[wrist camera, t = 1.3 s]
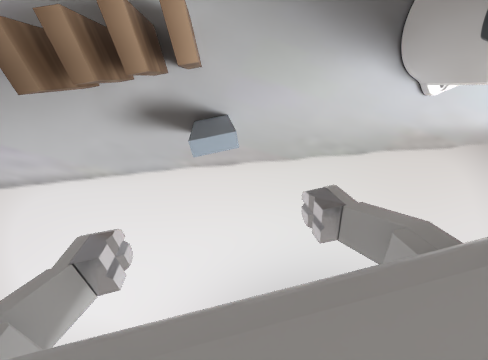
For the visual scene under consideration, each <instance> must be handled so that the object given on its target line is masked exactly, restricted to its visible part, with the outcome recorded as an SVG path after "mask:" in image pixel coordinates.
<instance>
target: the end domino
mask: <svg viewBox="0 0 488 360" xmlns="http://www.w3.org/2000/svg"><path fill="white" fill-rule="evenodd" d="M188 142H189V145H190V148H191V151H192V154H193V157H198V156H202V155H207V154H212V153H216V152H221V151H226V150H230V149H235V148H239V144H238V139H237V133H236V130H235V128H234V126H233V124H232V122H231V120H230V118H229V117H228V115H224V116H219V117H214V118H209V119H205V120H200V121H195V122H194V124H193V128H192V131H191V134H190V138H189V141H188Z"/></svg>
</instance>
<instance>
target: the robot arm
mask: <svg viewBox="0 0 488 360" xmlns="http://www.w3.org/2000/svg"><path fill="white" fill-rule="evenodd" d="M401 51H402V59H403V63H404V66H405V68H406V70H407V71H408V73H409V74H410V75H411V76H412V77H413V78H415V79H416V80H417V81H419V83H420V85H421V88H422V91H423V93H424V94H425V95H426V96H434V95H437V94H439V93H442V92H444V91H447V90H449V89H451V88H454V87H456V86H459V85H488V0H415V1H414V3H413V5H412V7H411V9H410V12H409V14H408V17H407V20H406V23H405V26H404V30H403V35H402V45H401ZM302 200H303V201H304V202H305V203H304V205H303V206H302V216H303V219H304V222H305V223H306V225H307V226H308V227H310V228H312V233H313V235H314V236H315V238H316V239H317V240H318V242H319V243H325V242H330V241H335V240H338V241H340V242H341V243H343V244H345V245H347V246H348V247H350V248H352V249H353V250H355V251H357V252H359V253H360V254H362V255H364V256H366V257H367V258H369V259H371V260H372V261H374V262H376V263H378V264H379V265H376V266H372V267H368V268H364V269H360V270H357V271H352V272H348V273H344V274H341V275H337V276H333V277H329V278H325V279H321V280H317V281H313V282H309V283H305V284H301V285H297V286H293V287H290V288H285V289H282V290H278V291H274V292H270V293H266V294H262V295H258V296H254V297H250V298H246V299H242V300H238V301H234V302H230V303H227V304H222V305H219V306H215V307H211V308H207V309H203V310H199V311H195V312H192V313H187V314H183V315H179V316H175V317H172V318H168V319H163V320H160V321H156V322H152V323H148V324H144V325H140V326H136V327H132V328H128V329H124V330H121V331H116V332H112V333H109V334H105V335H101V336H97V337H93V338H89V339H85V340H81V341H77V342H73V343H69V344H65V345H61V346H58V347H54V348H52V347H53V346H54V345H55V344H56V342H57V341H58V340H59V339H60V338H61V337H62V336H63V335H64V334H65V333H66V331H67V330H68V329H69V328H70V327H71V326H72V325H73V324H74V322H75V321H76V320H77V319H78V318H79V317H80V316H81V315H82V314H83V313H84V312H85V310H86V309H87V308H88V307H89V306H90V305H91V304H92V303H93V302H94V300H95V299H96V298H97V296H100V295H103V294H107V293H111V292H115V291H119V290H120V289H121V287H122V285H123V282H124V279H125V277H126V274H125V272H124V271H125V270H126V269H127V268H128V267H129V266H130V264H131V262H132V255H133V253H132V248H131V246H130V244H128V243H127V242H125V241H123V240H124V237H125V235H124V234H123V232H122V230H120V229H115V230H109V231H104V232H98V233H93V234H88V235H83V236H80V237H77V238H76V239H75V240H74V242H73V243H72V244H71V245H70V247H69V248H68V249H67V250H66V252H65V253H64V254H63V255H62V256H61V258H60V259H59V260H58V261H57V263H56V264H55V265H54V266H53V267H52V269H48V270H46V271H44V272H43V273H41V274H40V275H38V276H37V277H35V278H34V279H32V280H31V281H29V282H28V283H26V284H25V285H23V286H22V287H20V288H19V289H17V290H16V291H14V292H13V293H11V294H10V295H9V296H7V297H5V298H4V299H2V300H1V301H0V360H488V237H487V238H482V239H479V240H474V241H470V242H466V243H462V242H460V241H459V240H457V239H456V238H454V237H452V236H451V235H449V234H448V233H446V232H445V231H443V230H441V229H440V228H438V227H437V226H435V225H433V224H432V223H430V222H428V221H425V220H422V219H418V218H415V217H411V216H408V215H405V214H401V213H398V212H394V211H391V210H387V209H384V208H380V207H377V206H374V205H370V204H367V203H363V202H359V203H358V202H357V201H355V200H354V199H353V198H351V197H350V196H349V195H348V194H347V193H345V192H344V191H343V190H342V189H340V188H339V187H338V186H336V185H331V186H326V187H323V188H318V189H314V190H309V191H305V192H303V194H302Z"/></svg>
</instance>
